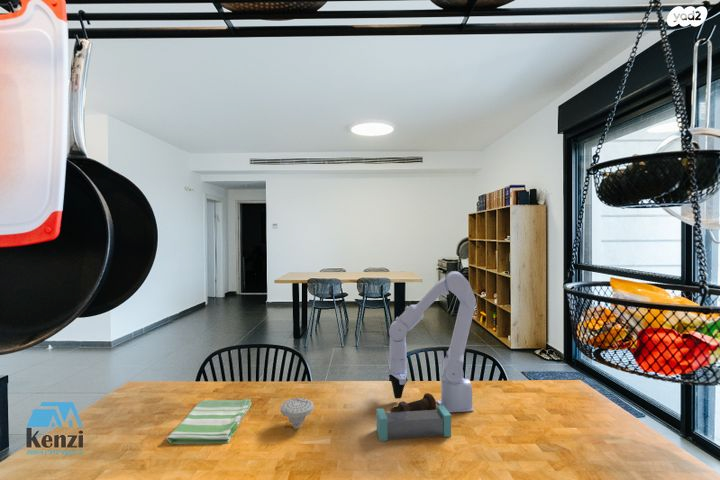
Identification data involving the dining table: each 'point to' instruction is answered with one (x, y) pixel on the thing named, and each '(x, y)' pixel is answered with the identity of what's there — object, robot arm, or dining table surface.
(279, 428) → the dining table surface
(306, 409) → the showerhead
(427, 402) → the bolt
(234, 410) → the dish towel
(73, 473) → the dining table surface
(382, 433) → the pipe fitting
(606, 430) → the dining table surface
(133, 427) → the dining table surface
